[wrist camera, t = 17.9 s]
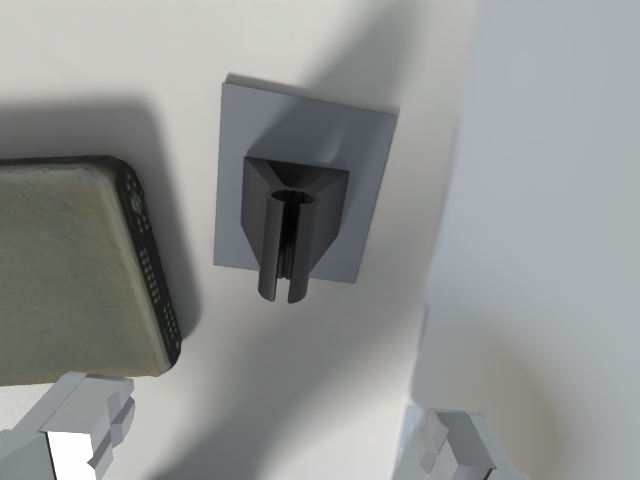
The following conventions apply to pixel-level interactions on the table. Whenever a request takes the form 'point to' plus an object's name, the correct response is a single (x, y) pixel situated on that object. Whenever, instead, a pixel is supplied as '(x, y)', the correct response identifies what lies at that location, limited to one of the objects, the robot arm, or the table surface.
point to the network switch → (79, 273)
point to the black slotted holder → (290, 219)
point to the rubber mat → (301, 148)
